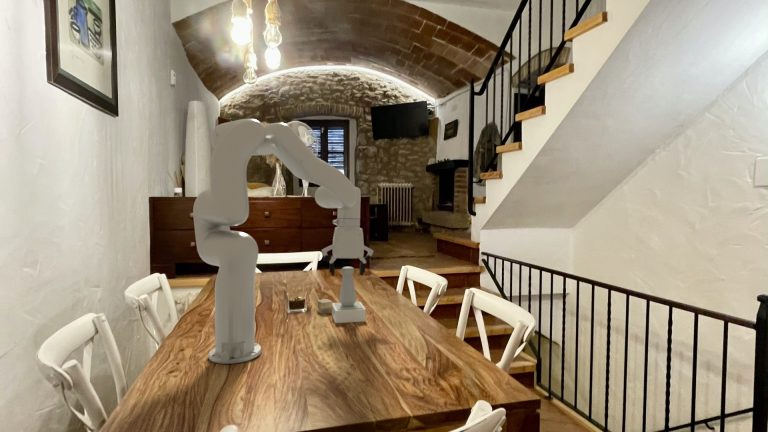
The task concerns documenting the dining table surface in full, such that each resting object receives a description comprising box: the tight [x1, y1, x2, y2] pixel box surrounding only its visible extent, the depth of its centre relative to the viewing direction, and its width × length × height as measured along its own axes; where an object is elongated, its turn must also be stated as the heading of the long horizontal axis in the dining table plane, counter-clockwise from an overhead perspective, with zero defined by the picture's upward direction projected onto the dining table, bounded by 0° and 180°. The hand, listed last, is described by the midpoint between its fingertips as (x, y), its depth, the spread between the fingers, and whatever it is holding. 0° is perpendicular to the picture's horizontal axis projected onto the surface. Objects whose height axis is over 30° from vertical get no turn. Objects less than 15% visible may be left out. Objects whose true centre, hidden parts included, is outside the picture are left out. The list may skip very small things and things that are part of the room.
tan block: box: [316, 298, 334, 315], centre depth 144 cm, size 4×4×4 cm
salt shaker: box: [339, 266, 357, 307], centre depth 137 cm, size 6×6×13 cm
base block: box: [331, 301, 367, 324], centre depth 137 cm, size 10×10×4 cm
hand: (347, 274), depth 136 cm, fingers open, 9 cm apart
